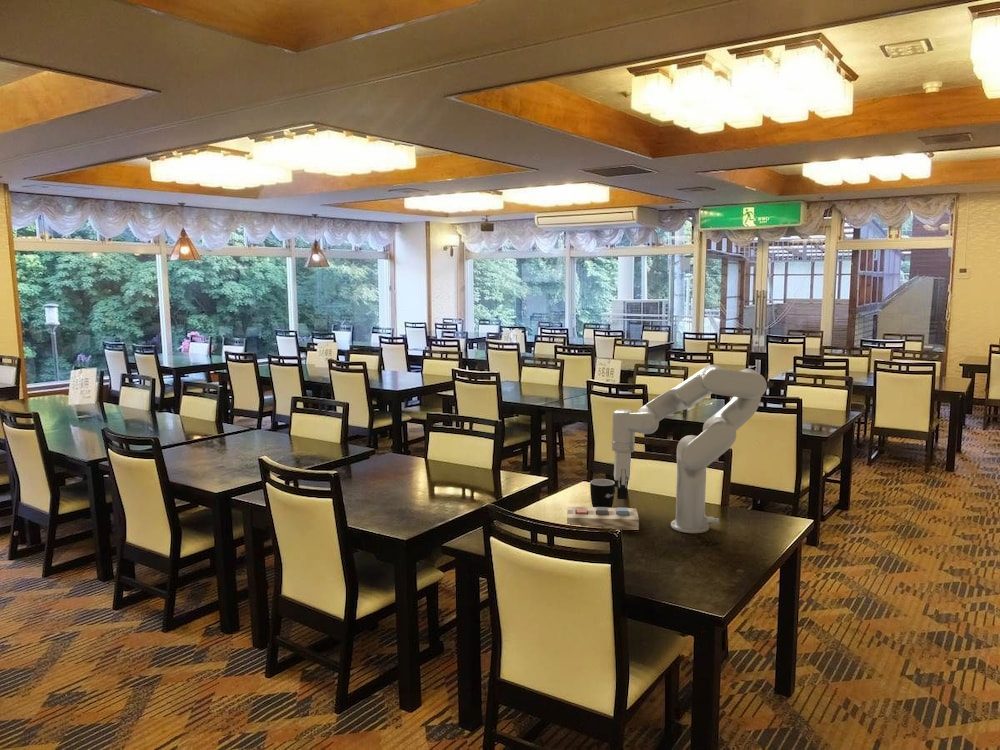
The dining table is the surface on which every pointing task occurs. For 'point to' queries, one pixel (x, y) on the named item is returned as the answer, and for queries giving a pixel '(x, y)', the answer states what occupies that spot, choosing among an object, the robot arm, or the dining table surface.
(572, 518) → the panel
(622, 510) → the button blue
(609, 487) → the mug
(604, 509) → the button grey
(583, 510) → the button red
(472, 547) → the dining table surface
